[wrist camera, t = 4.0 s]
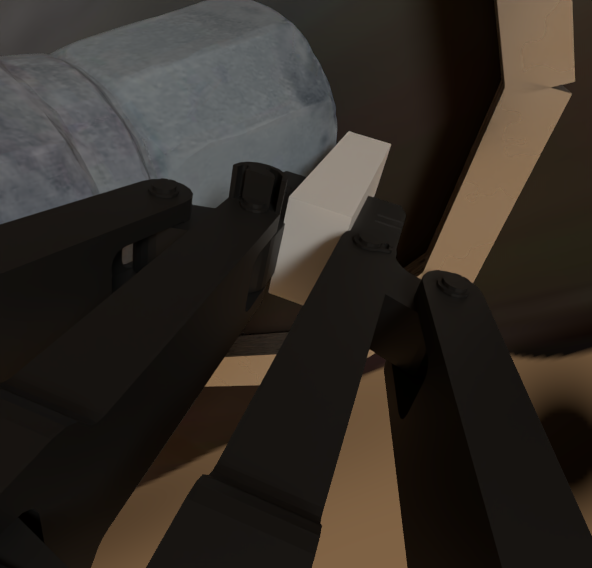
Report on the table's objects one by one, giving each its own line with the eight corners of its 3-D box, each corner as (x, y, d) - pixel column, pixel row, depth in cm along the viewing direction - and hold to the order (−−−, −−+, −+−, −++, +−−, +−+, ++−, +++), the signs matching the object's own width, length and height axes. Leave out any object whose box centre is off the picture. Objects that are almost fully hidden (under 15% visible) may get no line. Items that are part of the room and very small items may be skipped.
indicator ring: (-460, -635, 15) (-795, -865, 11) (852, -490, 10) (1113, -822, 6) (-153, 222, 33) (-240, 253, 29) (383, 437, 28) (368, 512, 24)
